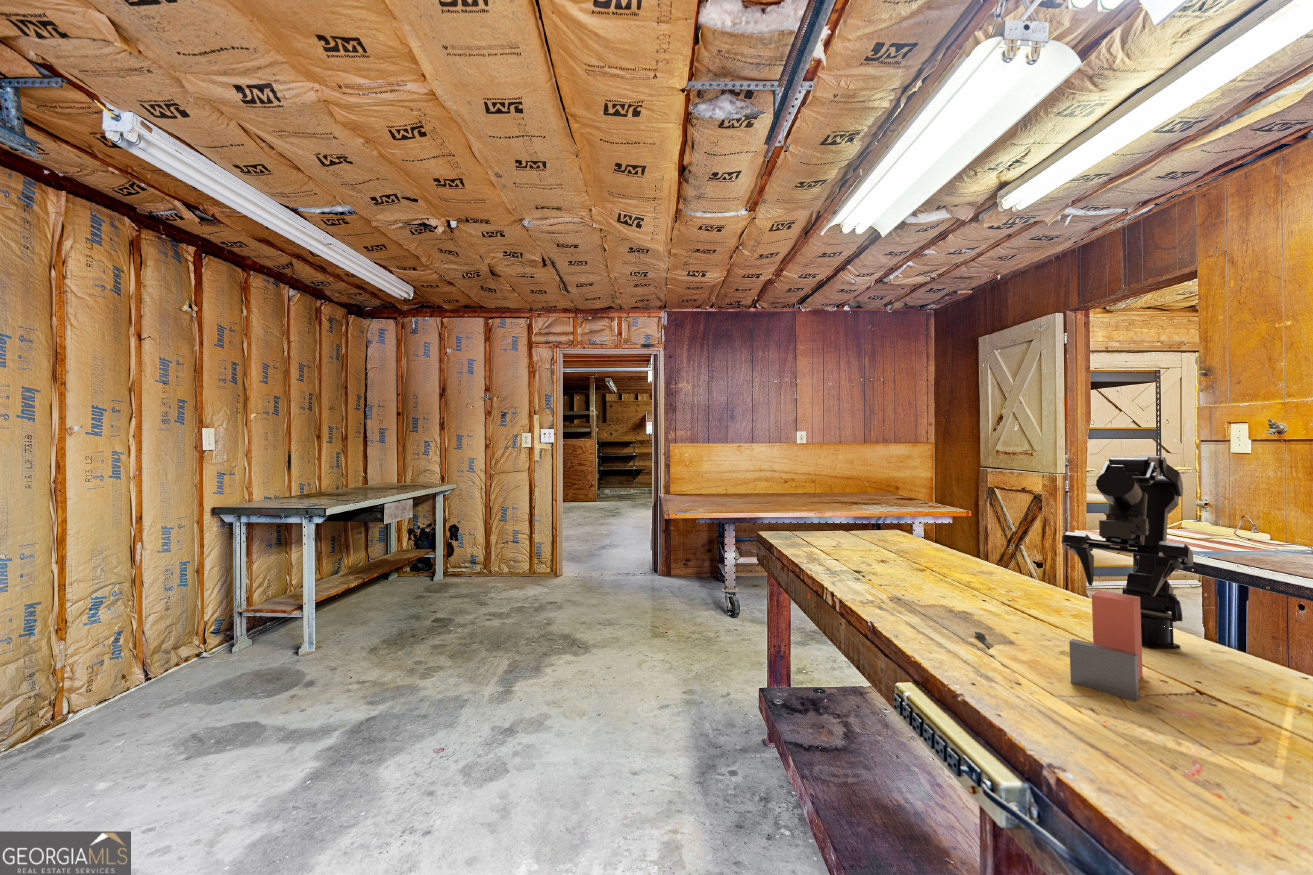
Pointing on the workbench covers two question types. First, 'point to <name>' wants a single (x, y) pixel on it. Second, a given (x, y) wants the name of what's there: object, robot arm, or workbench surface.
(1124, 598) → the red block on plate
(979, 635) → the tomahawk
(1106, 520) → the robot arm
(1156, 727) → the workbench surface
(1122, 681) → the plate
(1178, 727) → the workbench surface
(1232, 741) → the workbench surface
